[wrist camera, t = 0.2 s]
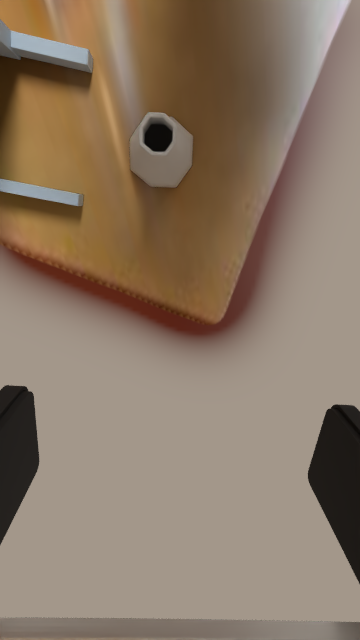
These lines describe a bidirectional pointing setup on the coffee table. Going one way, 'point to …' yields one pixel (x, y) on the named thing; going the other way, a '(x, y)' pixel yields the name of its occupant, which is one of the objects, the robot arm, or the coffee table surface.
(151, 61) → the coffee table surface
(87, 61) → the blue frame
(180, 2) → the coffee table surface
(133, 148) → the flask
